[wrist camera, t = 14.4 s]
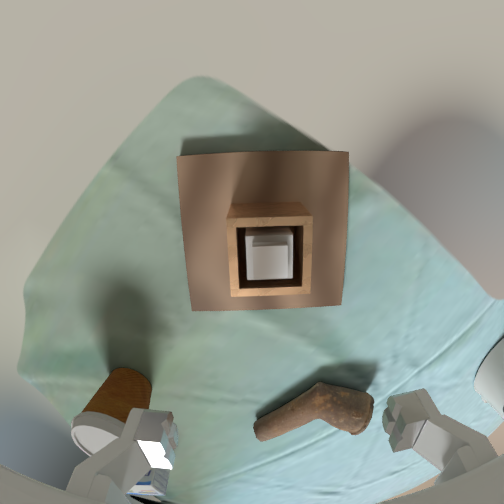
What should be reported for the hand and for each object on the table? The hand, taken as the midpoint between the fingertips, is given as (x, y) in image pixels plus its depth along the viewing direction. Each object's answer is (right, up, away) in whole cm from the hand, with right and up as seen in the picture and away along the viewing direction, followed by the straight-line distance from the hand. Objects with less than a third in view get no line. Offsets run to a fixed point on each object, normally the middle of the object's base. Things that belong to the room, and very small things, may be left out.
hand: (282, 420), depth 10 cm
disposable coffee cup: (-18, -12, +29) cm, 36 cm away
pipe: (+7, -16, +30) cm, 35 cm away
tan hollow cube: (0, +8, +20) cm, 21 cm away
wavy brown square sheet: (0, +8, +21) cm, 23 cm away
